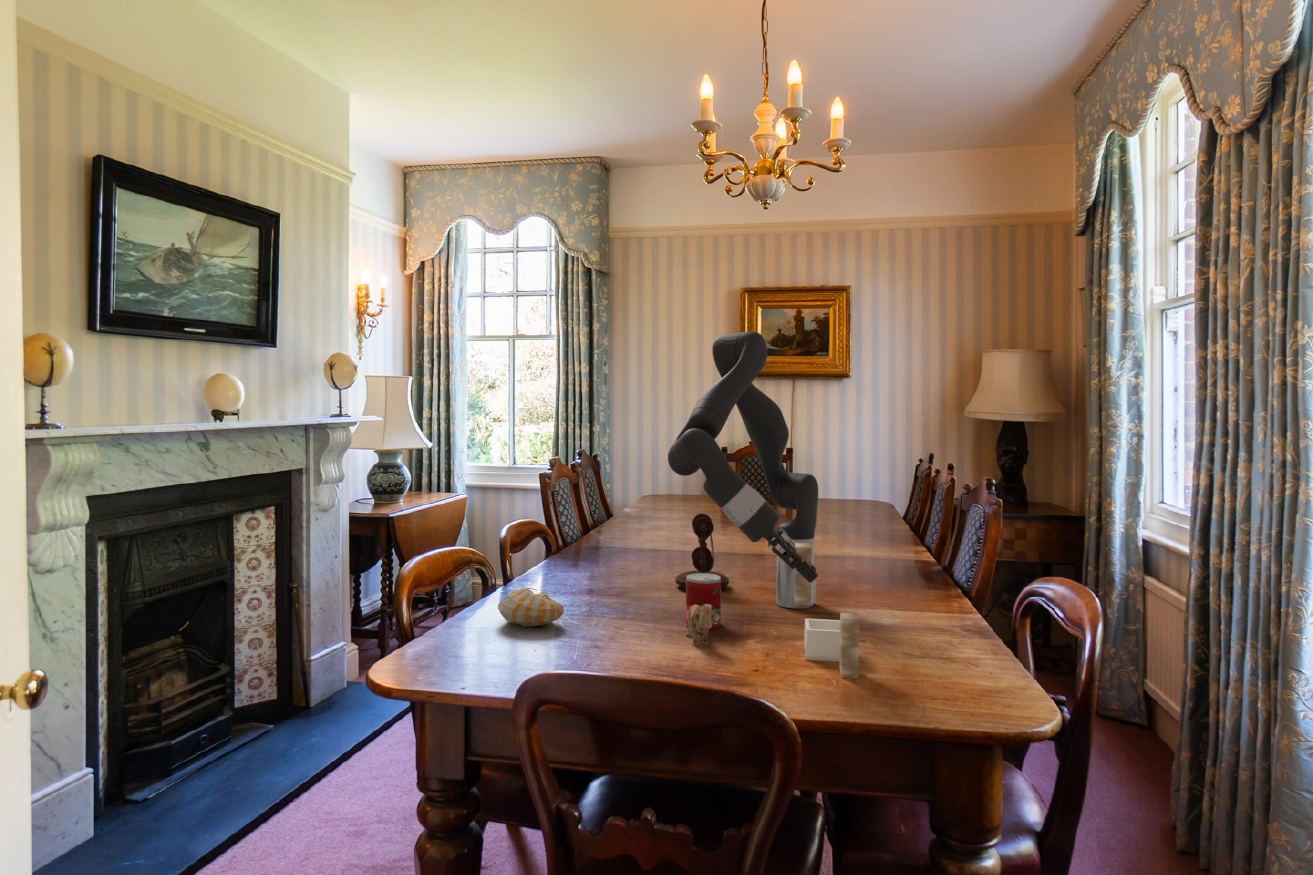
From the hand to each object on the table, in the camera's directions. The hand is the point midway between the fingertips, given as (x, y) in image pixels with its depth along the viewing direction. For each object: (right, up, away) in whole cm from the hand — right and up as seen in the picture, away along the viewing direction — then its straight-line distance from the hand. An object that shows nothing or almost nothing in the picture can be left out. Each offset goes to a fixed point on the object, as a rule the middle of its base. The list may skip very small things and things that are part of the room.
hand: (813, 575), depth 142 cm
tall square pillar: (-2, -5, 0) cm, 5 cm away
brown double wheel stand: (-18, -15, +62) cm, 66 cm away
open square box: (+4, -17, +7) cm, 19 cm away
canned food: (-20, -16, +27) cm, 37 cm away
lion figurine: (-21, -17, +15) cm, 31 cm away
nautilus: (-59, -16, +28) cm, 67 cm away
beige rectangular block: (+6, -18, -4) cm, 19 cm away
